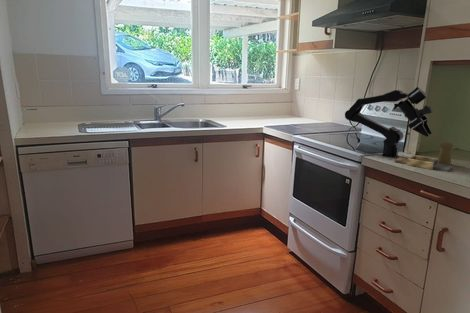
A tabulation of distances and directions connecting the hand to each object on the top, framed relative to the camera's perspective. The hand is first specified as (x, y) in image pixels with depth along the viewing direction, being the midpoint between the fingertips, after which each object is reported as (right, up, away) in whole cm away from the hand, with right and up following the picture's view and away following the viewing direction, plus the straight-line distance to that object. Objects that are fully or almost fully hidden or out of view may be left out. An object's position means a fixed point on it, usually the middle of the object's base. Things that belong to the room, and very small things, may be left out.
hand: (429, 135), depth 170 cm
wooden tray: (-6, -15, -5) cm, 17 cm away
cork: (+6, -14, -1) cm, 16 cm away
